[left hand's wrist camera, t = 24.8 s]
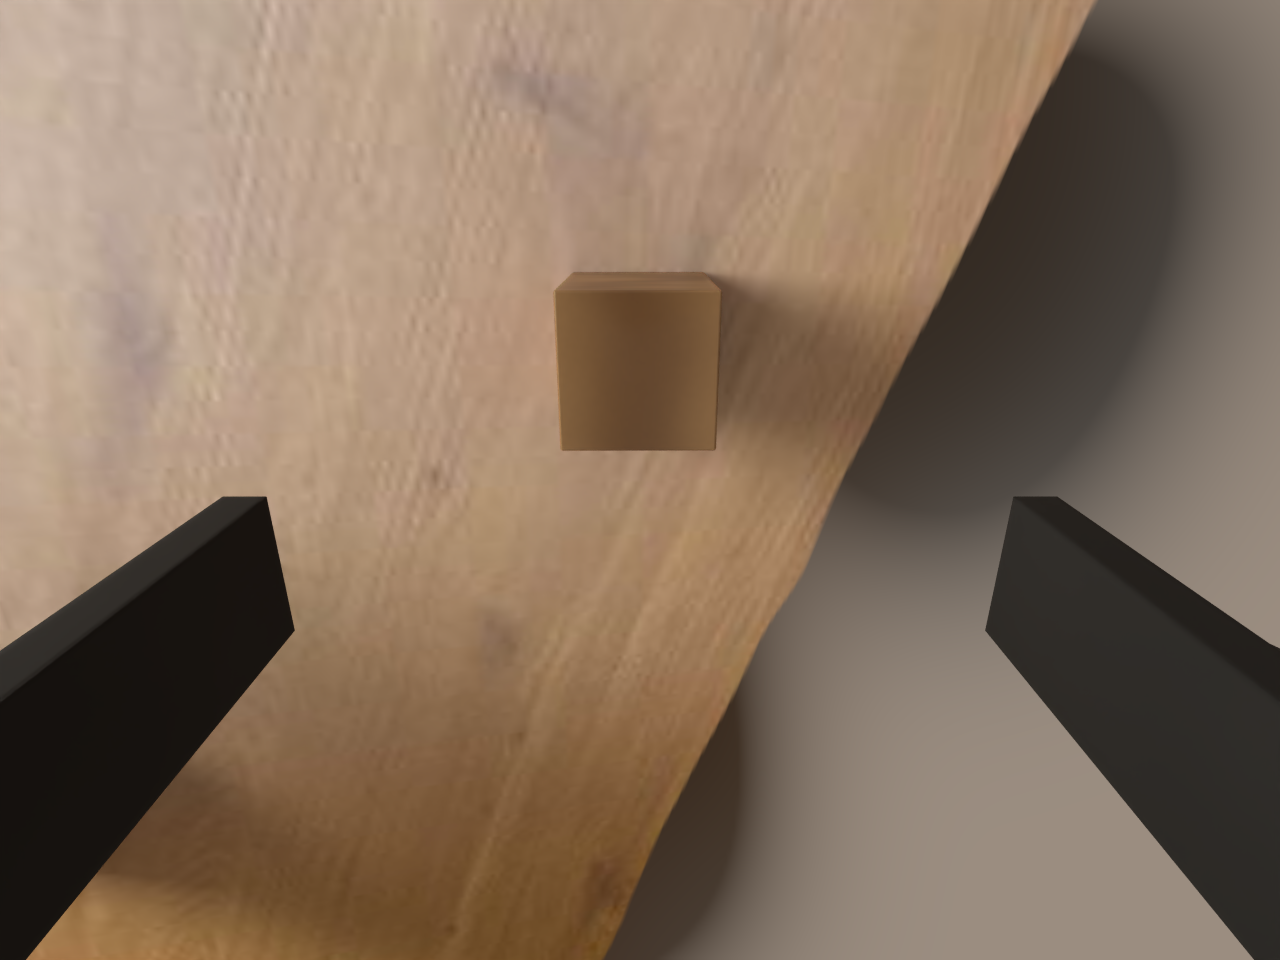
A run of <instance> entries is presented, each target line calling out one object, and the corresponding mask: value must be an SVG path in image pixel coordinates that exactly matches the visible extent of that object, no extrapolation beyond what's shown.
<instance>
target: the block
mask: <svg viewBox="0 0 1280 960" xmlns="http://www.w3.org/2000/svg"><path fill="white" fill-rule="evenodd" d="M553 295H554V317H555V339H556V361H557V383H558V405H559V426H560V448H561V450H563V451H578V450H715V449H716V432H717V407H718V382H719V357H720V331H721V306H722V291H721V290H720V289H719V288H718V287H717V286H716V285H715V284H714V283H713V282H712V280H711V279H710V278H709V277H708V276H707V275H706V274H705V273H703V272H574V273H572V274H571V275H570V276H569V277H568V278H567V279H566V280H565V281H564V282H563V283H562V284H561V285H560V286H559V287H558V288H557V289H556V290H554V292H553Z"/></svg>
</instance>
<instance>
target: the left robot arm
mask: <svg viewBox="0 0 1280 960" xmlns="http://www.w3.org/2000/svg"><path fill="white" fill-rule="evenodd" d="M294 631H295V630H294V625H293V620H292V615H291V611H290V606H289V601H288V596H287V592H286V587H285V582H284V577H283V573H282V568H281V563H280V559H279V554H278V549H277V544H276V540H275V535H274V530H273V525H272V521H271V516H270V511H269V506H268V502H267V497H222V498H220V499H219V500H217V501H216V502H214V503H213V504H212V505H210V506H209V507H207V508H206V509H204V510H203V511H201V512H200V513H199V514H197V515H196V516H194V517H193V518H191V519H190V520H188V521H187V522H186V523H184V524H183V525H181V526H180V527H178V528H177V529H175V530H174V531H173V532H171V533H170V534H168V535H167V536H165V537H164V538H162V539H161V540H160V541H158V542H157V543H155V544H154V545H152V546H151V547H149V548H148V549H147V550H145V551H144V552H142V553H141V554H139V555H138V556H136V557H135V558H134V559H132V560H131V561H129V562H128V563H126V564H125V565H123V566H122V567H121V568H119V569H118V570H116V571H115V572H113V573H112V574H110V575H109V576H108V577H106V578H105V579H103V580H102V581H100V582H99V583H97V584H96V585H95V586H93V587H92V588H90V589H89V590H87V591H86V592H84V593H83V594H82V595H80V596H79V597H77V598H76V599H74V600H73V601H71V602H70V603H69V604H67V605H66V606H64V607H63V608H61V609H60V610H58V611H57V612H56V613H54V614H53V615H51V616H50V617H48V618H47V619H45V620H44V621H43V622H41V623H40V624H38V625H37V626H35V627H34V628H32V629H31V630H30V631H28V632H27V633H25V634H24V635H22V636H21V637H19V638H18V639H17V640H15V641H14V642H12V643H11V644H9V645H8V646H6V647H5V648H4V649H2V650H1V651H0V960H26V959H27V958H28V956H29V955H30V954H31V953H32V952H33V950H34V949H35V948H36V947H37V945H38V944H39V943H40V942H41V941H42V939H43V938H44V937H45V936H46V934H47V933H48V932H49V931H50V930H51V928H52V927H53V926H54V925H55V923H56V922H57V921H58V920H59V919H60V917H61V916H62V915H63V914H64V912H65V911H66V910H67V909H68V908H69V906H70V905H71V904H72V903H73V901H74V900H75V899H76V898H77V896H78V895H79V894H80V893H81V892H82V890H83V889H84V888H85V887H86V885H87V884H88V883H89V882H90V881H91V879H92V878H93V877H94V876H95V874H96V873H97V872H98V871H99V870H100V868H101V867H102V866H103V865H104V863H105V862H106V861H107V860H108V859H109V857H110V856H111V855H112V854H113V852H114V851H115V850H116V849H117V848H118V846H119V845H120V844H121V843H122V841H123V840H124V839H125V838H126V836H127V835H128V834H129V833H130V832H131V830H132V829H133V828H134V827H135V825H136V824H137V823H138V822H139V821H140V819H141V818H142V817H143V816H144V814H145V813H146V812H147V811H148V810H149V808H150V807H151V806H152V805H153V803H154V802H155V801H156V800H157V799H158V797H159V796H160V795H161V794H162V792H163V791H164V790H165V789H166V788H167V786H168V785H169V784H170V783H171V781H172V780H173V779H174V778H175V776H176V775H177V774H178V773H179V772H180V770H181V769H182V768H183V767H184V765H185V764H186V763H187V762H188V761H189V759H190V758H191V757H192V756H193V754H194V753H195V752H196V751H197V750H198V748H199V747H200V746H201V745H202V743H203V742H204V741H205V740H206V739H207V737H208V736H209V735H210V734H211V732H212V731H213V730H214V729H215V728H216V726H217V725H218V724H219V723H220V721H221V720H222V719H223V718H224V716H225V715H226V714H227V713H228V712H229V710H230V709H231V708H232V707H233V705H234V704H235V703H236V702H237V701H238V699H239V698H240V697H241V696H242V694H243V693H244V692H245V691H246V690H247V688H248V687H249V686H250V685H251V683H252V682H253V681H254V680H255V679H256V677H257V676H258V675H259V674H260V672H261V671H262V670H263V669H264V668H265V666H266V665H267V664H268V663H269V661H270V660H271V659H272V658H273V656H274V655H275V654H276V653H277V652H278V650H279V649H280V648H281V647H282V645H283V644H284V643H285V642H286V641H287V639H288V638H289V637H290V636H291V634H292V633H293V632H294ZM985 631H986V632H987V633H988V634H989V636H990V637H991V638H992V639H993V641H994V642H995V643H996V644H997V645H998V647H999V648H1000V649H1001V650H1002V652H1003V653H1004V654H1005V655H1006V656H1007V658H1008V659H1009V660H1010V661H1011V663H1012V664H1013V665H1014V666H1015V668H1016V669H1017V670H1018V671H1019V672H1020V674H1021V675H1022V676H1023V677H1024V679H1025V680H1026V681H1027V682H1028V683H1029V685H1030V686H1031V687H1032V688H1033V690H1034V691H1035V692H1036V693H1037V694H1038V696H1039V697H1040V698H1041V699H1042V701H1043V702H1044V703H1045V704H1046V705H1047V707H1048V708H1049V709H1050V710H1051V712H1052V713H1053V714H1054V715H1055V716H1056V718H1057V719H1058V720H1059V721H1060V723H1061V724H1062V725H1063V726H1064V727H1065V729H1066V730H1067V731H1068V732H1069V734H1070V735H1071V736H1072V737H1073V739H1074V740H1075V741H1076V742H1077V743H1078V745H1079V746H1080V747H1081V748H1082V749H1083V751H1084V752H1085V753H1086V754H1087V756H1088V757H1089V758H1090V759H1091V761H1092V762H1093V763H1094V764H1095V765H1096V767H1097V768H1098V769H1099V770H1100V772H1101V773H1102V774H1103V775H1104V776H1105V778H1106V779H1107V780H1108V781H1109V783H1110V784H1111V785H1112V786H1113V787H1114V789H1115V790H1116V791H1117V792H1118V794H1119V795H1120V796H1121V797H1122V799H1123V800H1124V801H1125V802H1126V803H1127V805H1128V806H1129V807H1130V808H1131V810H1132V811H1133V812H1134V813H1135V814H1136V816H1137V817H1138V818H1139V819H1140V821H1141V822H1142V823H1143V824H1144V825H1145V827H1146V828H1147V829H1148V830H1149V832H1150V833H1151V834H1152V835H1153V836H1154V838H1155V839H1156V840H1157V841H1158V843H1159V844H1160V845H1161V846H1162V847H1163V849H1164V850H1165V851H1166V852H1167V854H1168V855H1169V856H1170V857H1171V859H1172V860H1173V861H1174V862H1175V863H1176V865H1177V866H1178V867H1179V868H1180V870H1181V871H1182V872H1183V873H1184V874H1185V876H1186V877H1187V878H1188V879H1189V881H1190V882H1191V883H1192V884H1193V885H1194V887H1195V888H1196V889H1197V890H1198V892H1199V893H1200V894H1201V895H1202V896H1203V898H1204V899H1205V900H1206V901H1207V903H1208V904H1209V905H1210V906H1211V907H1212V909H1213V910H1214V911H1215V912H1216V914H1217V915H1218V916H1219V917H1220V919H1221V920H1222V921H1223V922H1224V923H1225V925H1226V926H1227V927H1228V928H1229V929H1230V931H1231V932H1232V933H1233V934H1234V936H1235V937H1236V938H1237V939H1238V941H1239V942H1240V943H1241V944H1242V945H1243V947H1244V948H1245V949H1246V950H1247V952H1248V953H1249V954H1250V955H1251V956H1252V958H1253V959H1254V960H1280V648H1278V647H1275V646H1273V645H1271V644H1269V643H1268V642H1266V641H1265V640H1263V639H1262V638H1261V637H1259V636H1258V635H1256V634H1255V633H1253V632H1252V631H1250V630H1249V629H1247V628H1246V627H1245V626H1243V625H1242V624H1240V623H1239V622H1237V621H1236V620H1235V619H1233V618H1232V617H1230V616H1229V615H1227V614H1226V613H1224V612H1223V611H1221V610H1220V609H1219V608H1217V607H1216V606H1214V605H1213V604H1211V603H1210V602H1209V601H1207V600H1206V599H1204V598H1203V597H1201V596H1200V595H1198V594H1197V593H1196V592H1194V591H1193V590H1191V589H1190V588H1188V587H1187V586H1185V585H1184V584H1182V583H1181V582H1180V581H1178V580H1177V579H1175V578H1174V577H1172V576H1171V575H1170V574H1168V573H1167V572H1165V571H1164V570H1162V569H1161V568H1159V567H1158V566H1157V565H1155V564H1154V563H1152V562H1151V561H1149V560H1148V559H1146V558H1145V557H1144V556H1142V555H1141V554H1139V553H1138V552H1136V551H1135V550H1133V549H1132V548H1131V547H1129V546H1128V545H1126V544H1125V543H1123V542H1122V541H1120V540H1119V539H1117V538H1116V537H1115V536H1113V535H1112V534H1110V533H1109V532H1107V531H1106V530H1105V529H1103V528H1102V527H1100V526H1099V525H1097V524H1096V523H1094V522H1093V521H1092V520H1090V519H1089V518H1087V517H1086V516H1084V515H1083V514H1081V513H1080V512H1079V511H1077V510H1076V509H1074V508H1073V507H1071V506H1070V505H1068V504H1067V503H1066V502H1064V501H1063V500H1061V499H1060V498H1058V497H1013V502H1012V506H1011V511H1010V516H1009V521H1008V525H1007V530H1006V535H1005V540H1004V544H1003V549H1002V554H1001V559H1000V564H999V568H998V573H997V578H996V582H995V587H994V592H993V596H992V601H991V606H990V611H989V615H988V620H987V625H986V630H985Z"/></svg>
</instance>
